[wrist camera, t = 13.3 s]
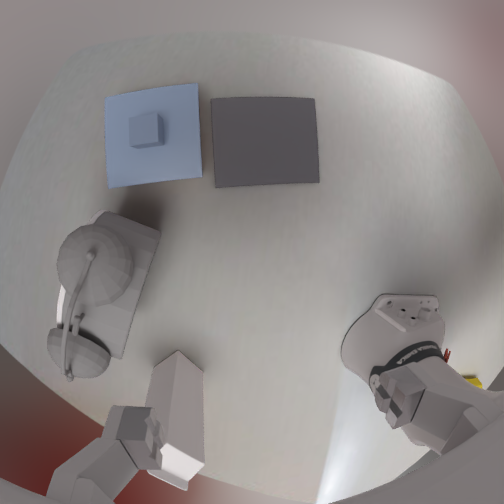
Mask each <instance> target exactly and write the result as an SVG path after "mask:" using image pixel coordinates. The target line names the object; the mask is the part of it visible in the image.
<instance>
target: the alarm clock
mask: <svg viewBox="0 0 504 504" xmlns="http://www.w3.org/2000/svg"><path fill="white" fill-rule="evenodd" d="M160 237H161V232H160V231H158V230H155V229H153V228H150V227H148V226H145V225H143V224H140V223H137V222H135V221H132V220H130V219H127V218H125V217H122V216H120V215H117V214H115V213H112V212H110V211H107V210H99V211H98V212H97V213H96V214H95V215H94V216H93V217H92V218H91V219H90V221H89V222H88V224H87V225H85V226H81V227H79V228H77V229H76V230H75V231H73V232H72V233H70V234H69V235H68V236H67V238H66V239H65V241H64V242H63V244H62V246H61V247H60V251H59V256H58V260H57V270H58V276H59V281H60V282H61V289H60V294H59V299H58V306H57V328H54V329H50V332H49V335H48V341H47V349H48V352H49V355H50V356H51V358H52V360H53V361H54V362H55V363H56V364H57V366H58V367H59V368H61V374H63V375H65V376H67V377H66V378H67V381H68V382H71V381H73V379H74V376H75V377H79V378H94V377H98V376H99V375H101V374H102V373H104V372H105V370H106V369H107V367H108V366H109V363H110V359H111V357H114V358H117V359H122V357H123V353H124V349H125V345H126V342H127V338H128V335H129V331H130V327H131V324H132V321H133V317H134V314H135V311H136V307H137V304H138V301H139V298H140V294H141V291H142V288H143V285H144V282H145V279H146V276H147V273H148V270H149V267H150V264H151V262H152V259H153V256H154V253H155V250H156V247H157V245H158V242H159V239H160ZM110 356H111V357H110Z"/></svg>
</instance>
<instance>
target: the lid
mask: <svg viewBox="0 0 504 504" xmlns="http://www.w3.org/2000/svg"><path fill="white" fill-rule="evenodd" d="M105 150H106V168H107V181H108V189H111V188H117V187H124V186H131V185H138V184H145V183H153V182H161V181H170V180H179V179H188V178H199V177H203V173H202V158H201V140H200V120H199V95H198V83H192V84H182V85H174V86H166V87H159V88H152V89H146V90H140V91H135V92H129V93H124V94H119V95H115V96H110V97H106V98H105Z"/></svg>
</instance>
